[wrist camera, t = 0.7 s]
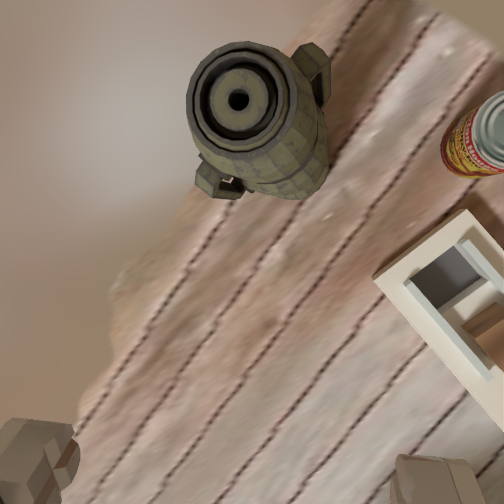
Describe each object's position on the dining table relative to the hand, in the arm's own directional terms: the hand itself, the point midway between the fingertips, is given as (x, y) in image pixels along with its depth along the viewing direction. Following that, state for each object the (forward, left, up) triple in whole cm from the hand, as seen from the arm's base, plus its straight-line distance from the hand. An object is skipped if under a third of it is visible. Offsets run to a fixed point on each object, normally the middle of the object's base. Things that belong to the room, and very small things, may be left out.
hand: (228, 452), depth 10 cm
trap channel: (-20, -11, -47) cm, 52 cm away
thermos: (+10, -6, -47) cm, 48 cm away
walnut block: (-21, -11, -44) cm, 50 cm away
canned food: (-3, -24, -47) cm, 53 cm away
